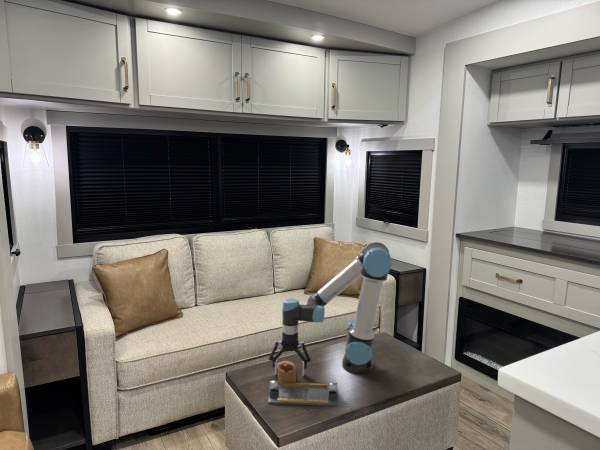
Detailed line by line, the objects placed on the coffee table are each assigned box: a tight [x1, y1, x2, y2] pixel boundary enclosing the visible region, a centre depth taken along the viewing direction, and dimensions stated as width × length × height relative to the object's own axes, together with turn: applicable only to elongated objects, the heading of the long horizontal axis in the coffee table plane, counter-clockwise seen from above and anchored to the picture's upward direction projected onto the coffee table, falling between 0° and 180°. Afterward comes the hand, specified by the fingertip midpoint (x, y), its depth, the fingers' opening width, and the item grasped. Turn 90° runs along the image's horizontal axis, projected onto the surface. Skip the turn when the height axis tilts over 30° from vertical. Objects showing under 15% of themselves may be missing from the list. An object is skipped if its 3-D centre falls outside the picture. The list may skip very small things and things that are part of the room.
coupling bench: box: [267, 380, 338, 407], centre depth 176 cm, size 29×13×6 cm, turn 87°
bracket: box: [276, 360, 297, 384], centre depth 193 cm, size 18×8×7 cm, turn 6°
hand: (289, 374), depth 194 cm, fingers open, 12 cm apart
